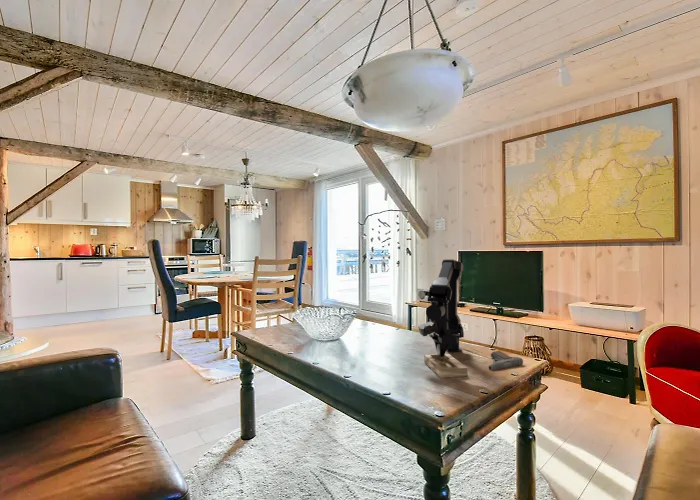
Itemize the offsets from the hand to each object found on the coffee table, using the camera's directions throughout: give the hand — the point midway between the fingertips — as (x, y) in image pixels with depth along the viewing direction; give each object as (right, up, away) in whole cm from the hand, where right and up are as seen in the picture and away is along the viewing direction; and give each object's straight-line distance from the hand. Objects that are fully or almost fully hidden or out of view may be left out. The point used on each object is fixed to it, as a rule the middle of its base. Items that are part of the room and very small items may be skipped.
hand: (440, 355), depth 140 cm
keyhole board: (+1, -4, -5) cm, 6 cm away
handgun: (+23, -4, +2) cm, 23 cm away
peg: (0, -3, 0) cm, 3 cm away
